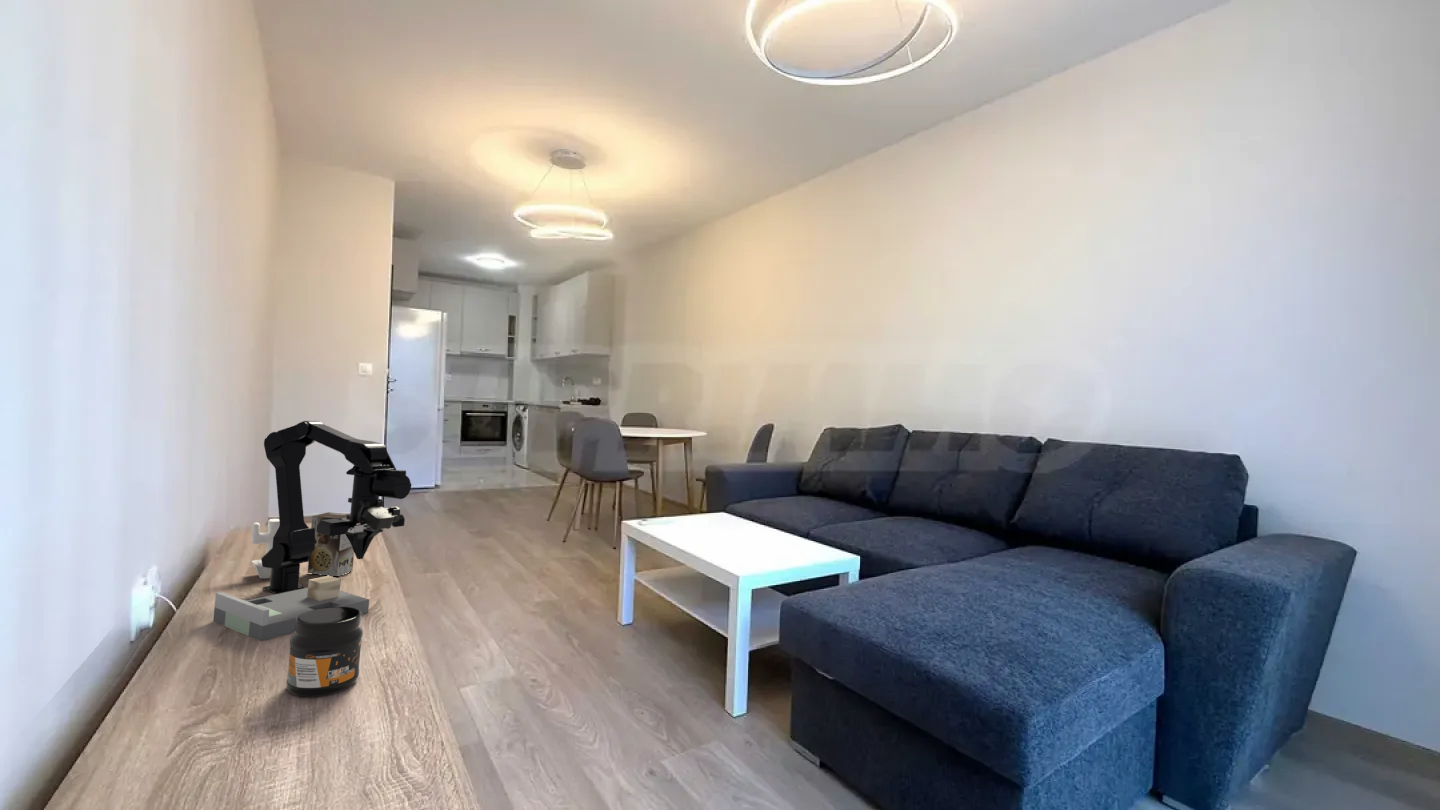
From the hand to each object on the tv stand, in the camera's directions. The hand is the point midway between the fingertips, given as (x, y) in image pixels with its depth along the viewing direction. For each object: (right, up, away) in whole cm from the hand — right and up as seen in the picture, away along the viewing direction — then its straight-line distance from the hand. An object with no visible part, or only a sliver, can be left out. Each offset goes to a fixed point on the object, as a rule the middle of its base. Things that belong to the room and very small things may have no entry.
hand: (359, 558), depth 145 cm
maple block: (-4, -7, -7) cm, 11 cm away
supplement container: (+19, -11, -42) cm, 47 cm away
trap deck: (-7, -10, -13) cm, 17 cm away
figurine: (-33, -8, +14) cm, 36 cm away
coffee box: (-21, -9, +20) cm, 31 cm away
